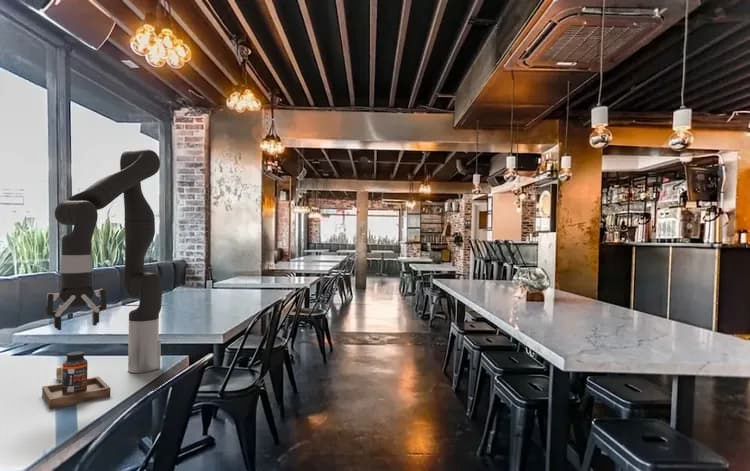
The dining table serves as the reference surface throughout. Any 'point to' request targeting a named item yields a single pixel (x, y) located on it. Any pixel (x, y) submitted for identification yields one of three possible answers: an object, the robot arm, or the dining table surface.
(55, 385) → the walnut tray
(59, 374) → the beech block
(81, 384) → the supplement bottle
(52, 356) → the dining table surface
